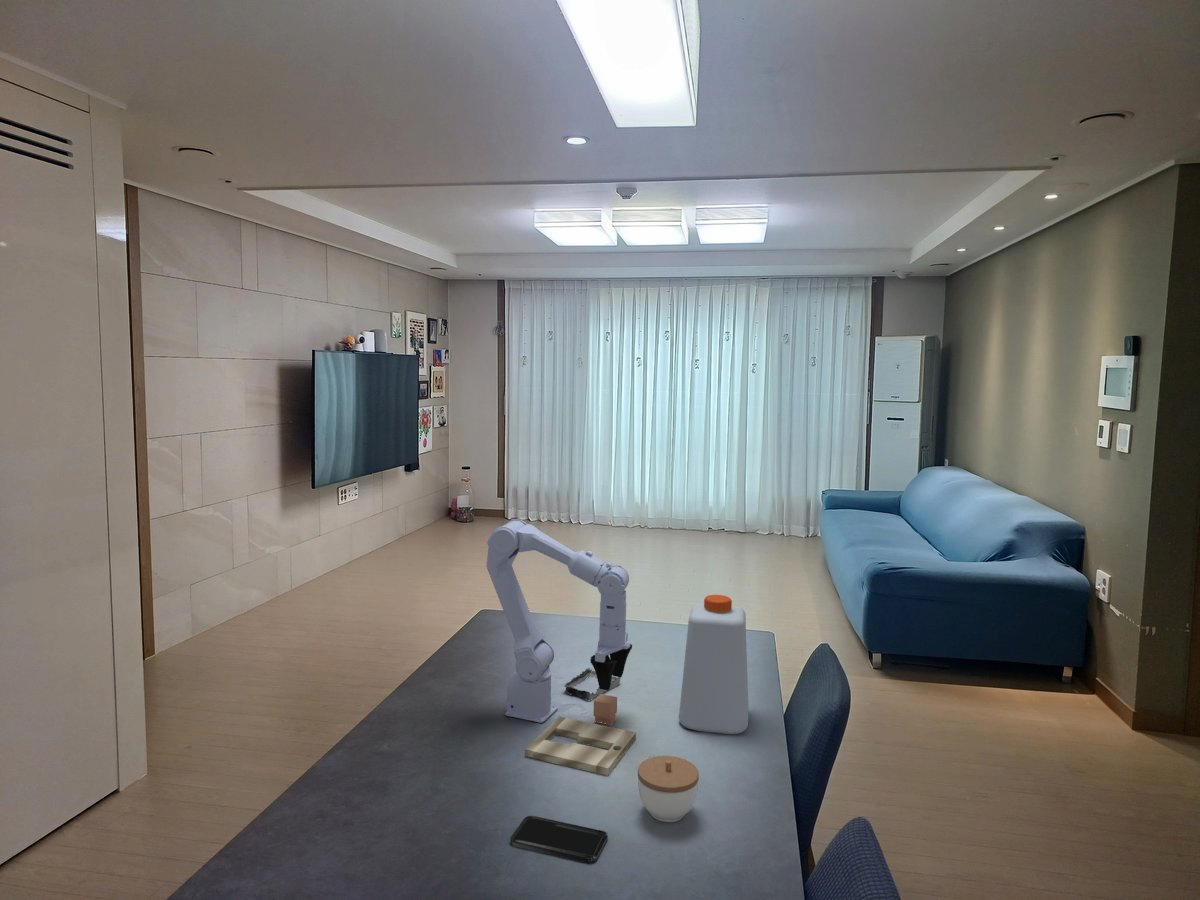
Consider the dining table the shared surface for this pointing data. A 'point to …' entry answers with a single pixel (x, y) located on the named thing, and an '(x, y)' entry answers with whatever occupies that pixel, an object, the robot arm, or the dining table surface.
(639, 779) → the lidded jar
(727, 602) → the plastic bottle
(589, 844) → the phone
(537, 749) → the keyhole board
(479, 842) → the dining table surface
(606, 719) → the slider block
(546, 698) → the robot arm
